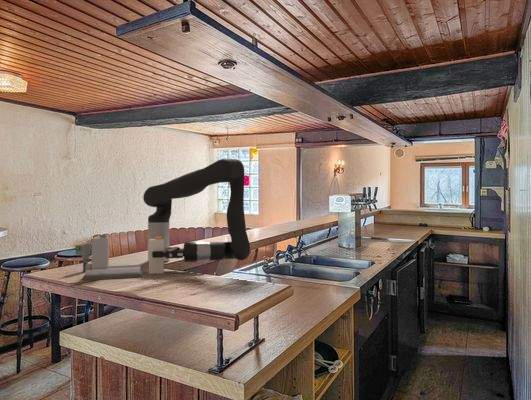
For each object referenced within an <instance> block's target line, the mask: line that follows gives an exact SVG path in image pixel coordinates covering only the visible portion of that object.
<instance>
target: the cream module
mask: <svg viewBox="0 0 531 400" xmlns="http://www.w3.org/2000/svg"><path fill="white" fill-rule="evenodd" d="M153 251H163V252H164V239H162V237H155V239H149V261H148V274H149V275H151V274H154V273H156V274H164V273H165V272H164V270H165V269H164V265H165V263H164V262H165V261H164V257H161V258H153V257H152V252H153ZM154 275H155V274H154Z"/></svg>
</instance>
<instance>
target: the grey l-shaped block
mask: <svg viewBox="0 0 531 400" xmlns="http://www.w3.org/2000/svg"><path fill="white" fill-rule="evenodd" d="M91 243H92V254H91V263H88V264H87V265H86V271H85V273H84V275H83V276H82V277H83V278H82V280H83V281H93V280H94V281H97V280H112V279H111V278H118V279H131V278H130V277H138V278H142V277H143V276H142V275H143V271H142V270H143V269H142V268H141V263H140V264H121V265H120V264H115V265H110V237H109V236H107V234H99V237H96V236H95V237H92V238H91ZM126 277H128V278H126Z"/></svg>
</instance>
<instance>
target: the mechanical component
mask: <svg viewBox="0 0 531 400" xmlns="http://www.w3.org/2000/svg"><path fill="white" fill-rule="evenodd" d="M74 250H75V255H76V256H81V260H82V272H86V265H87V264H89V262H88V261H89V259H90V255H92V242H91V243H81V244H77V245H75V247H74Z"/></svg>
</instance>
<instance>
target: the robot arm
mask: <svg viewBox="0 0 531 400" xmlns="http://www.w3.org/2000/svg"><path fill="white" fill-rule="evenodd" d="M220 183H228V184H229V188H230V189H229V190H230V195H229V196H230V197H229V202H228V204H227V209H226V225H227V230H228V235H229V236H230V241H224V242H221V241H185V242H184V243H183V247H182V248H181V247H179V246H170V220H171V216H172V205H173V204H172V203H173V200H174V199H183V198H188V197H192V196H195V195H198V194H200V193H201V192H203V191H204V190H205V189H206V188H207V187H208V186H212V185H215V184H220ZM244 194H245V166H244V163H242V161H241V160H239V159H238V158H228V157H227V158H226V157H225V158H221V159H218V160H216V161H214V162H213V163H211V164H209V165H207V166H206V167H203V168H201V169H200V168H199V169H196V170H193V171H191V172H188V173H186V174H183V175H181V176H179V177H176V178H174V179H172V180H169V181H167V182H164V183H161V184H156V185H153V186H150V187H148V188H146V190H145V191H144V193H143V195H142V196H143V197H142V198H143V202H144V204H146V205H147V206H149V207H150V208H151V207H152V208H156V210H155V211H154V213H152V214H150V215H149V216H148V217H147V262H149V239H155V237H162V239H164V252H163V251H153V252H152V257H153V258H161V257H164V262H168V261H170V259H183V261H184V263H204V262H209V261H210V262H211V261H222V260H228V259H229V260H231V259H232V260H233V259H234V260H238V261H244V260H247V259H248V258H249V256H250V254H251V245H250V241H249V236H248V233H247V228H246V227H247V226H246V218H245V207H244V204H245V203H244V201H245V199H244V198H245V197H244V196H245V195H244Z"/></svg>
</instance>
